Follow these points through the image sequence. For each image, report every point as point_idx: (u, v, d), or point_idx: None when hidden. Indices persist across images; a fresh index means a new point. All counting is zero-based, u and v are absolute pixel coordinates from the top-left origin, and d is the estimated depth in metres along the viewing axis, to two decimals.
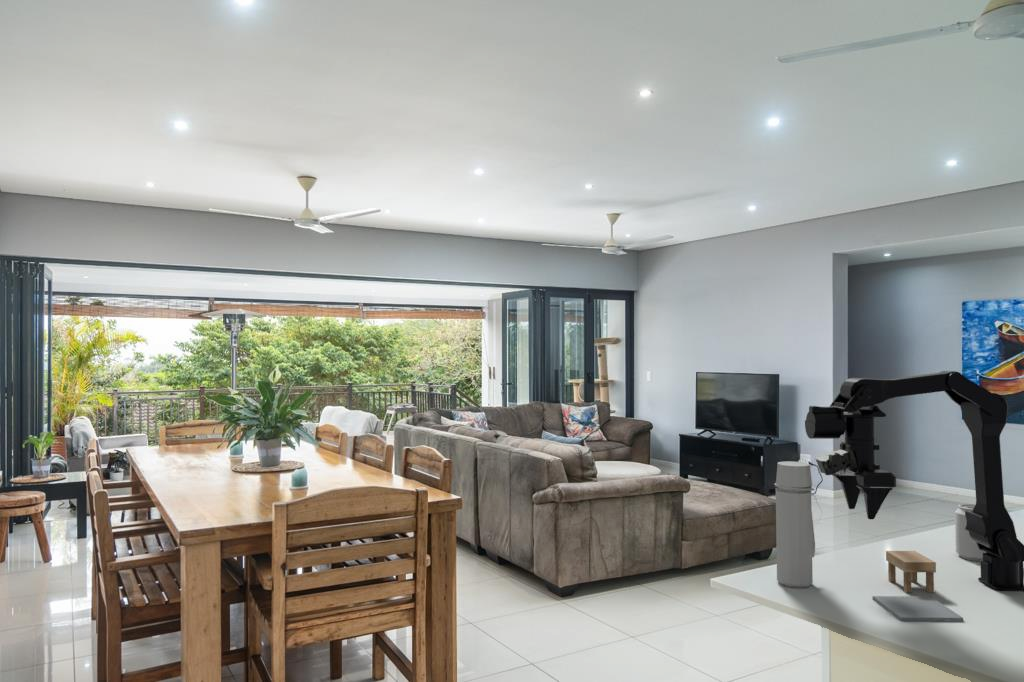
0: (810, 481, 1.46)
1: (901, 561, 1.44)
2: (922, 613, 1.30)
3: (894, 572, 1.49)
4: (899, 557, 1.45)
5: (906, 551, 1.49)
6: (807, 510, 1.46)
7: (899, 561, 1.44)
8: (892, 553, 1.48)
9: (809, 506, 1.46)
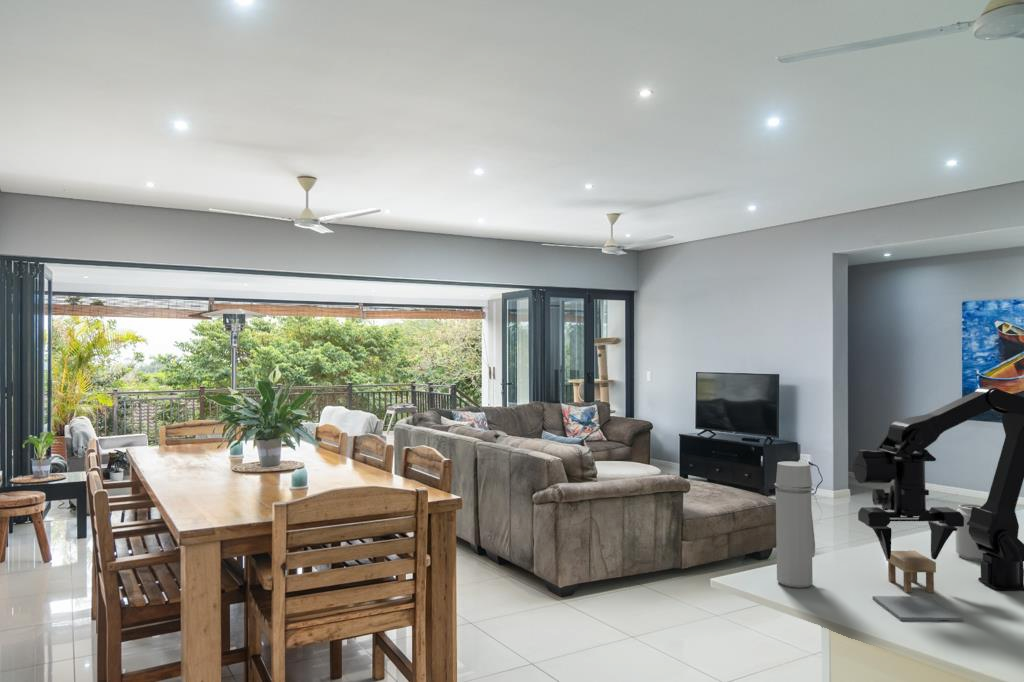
0: (810, 481, 1.46)
1: (901, 561, 1.44)
2: (922, 613, 1.30)
3: (894, 572, 1.49)
4: (899, 557, 1.45)
5: (906, 551, 1.49)
6: (807, 510, 1.46)
7: (899, 561, 1.44)
8: (892, 553, 1.48)
9: (809, 506, 1.46)
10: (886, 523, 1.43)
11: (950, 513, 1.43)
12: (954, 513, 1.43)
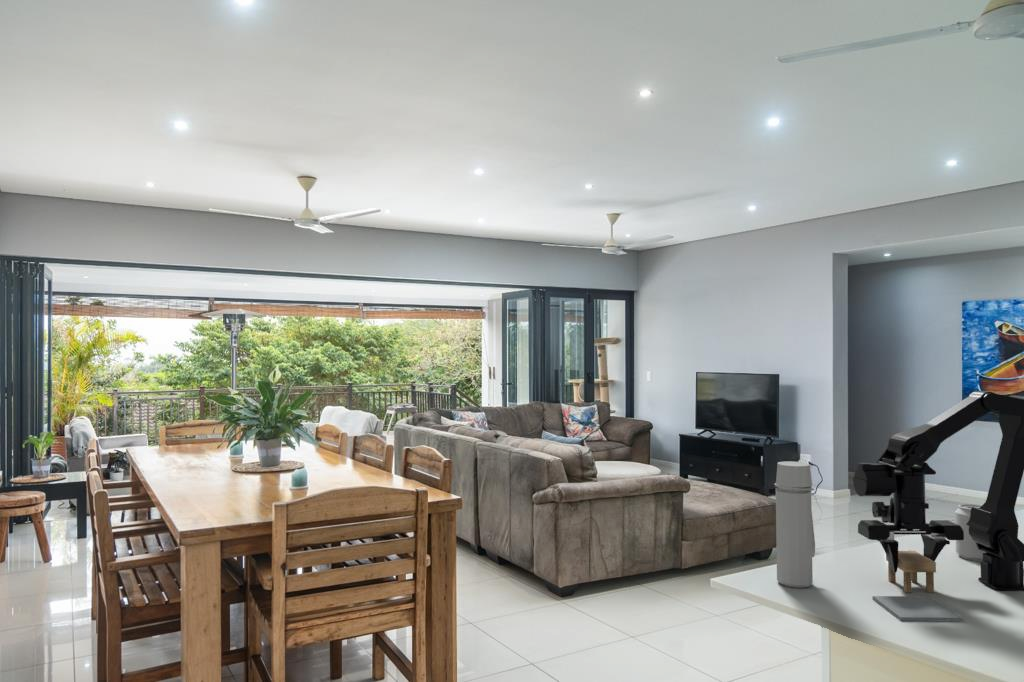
0: (810, 481, 1.46)
1: (901, 561, 1.44)
2: (922, 613, 1.30)
3: (894, 572, 1.49)
4: (899, 557, 1.45)
5: (906, 551, 1.49)
6: (807, 510, 1.46)
7: (899, 561, 1.44)
8: None
9: (809, 506, 1.46)
10: (886, 536, 1.43)
11: (950, 526, 1.43)
12: (954, 526, 1.43)
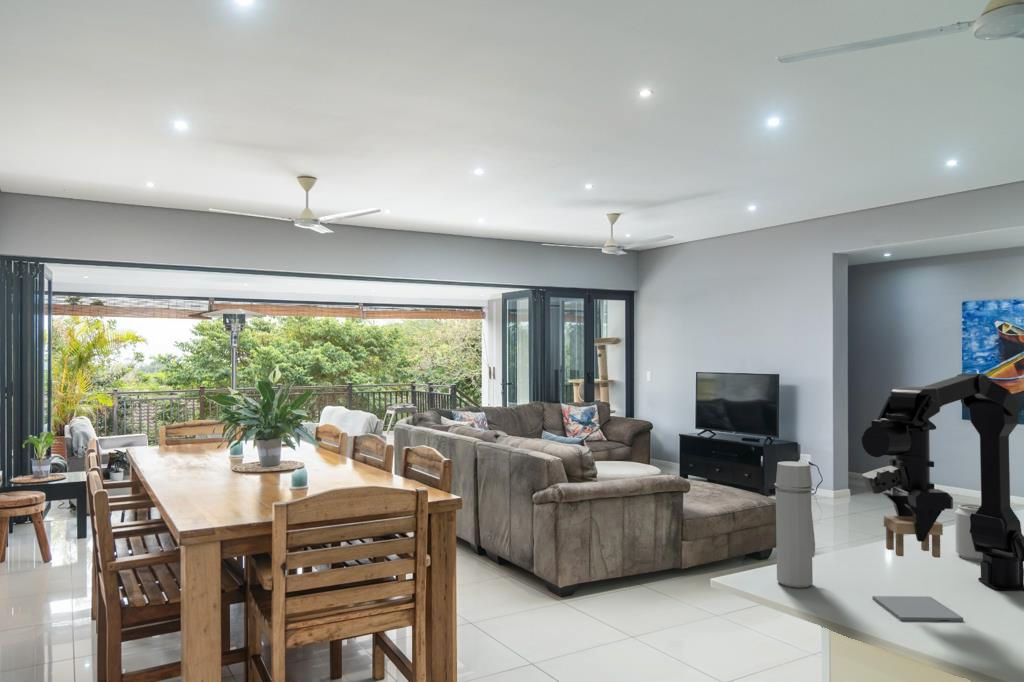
0: (810, 481, 1.46)
1: (934, 525, 1.31)
2: (922, 613, 1.30)
3: None
4: None
5: (890, 518, 1.36)
6: (807, 510, 1.46)
7: None
8: (906, 522, 1.32)
9: (809, 506, 1.46)
10: None
11: None
12: None
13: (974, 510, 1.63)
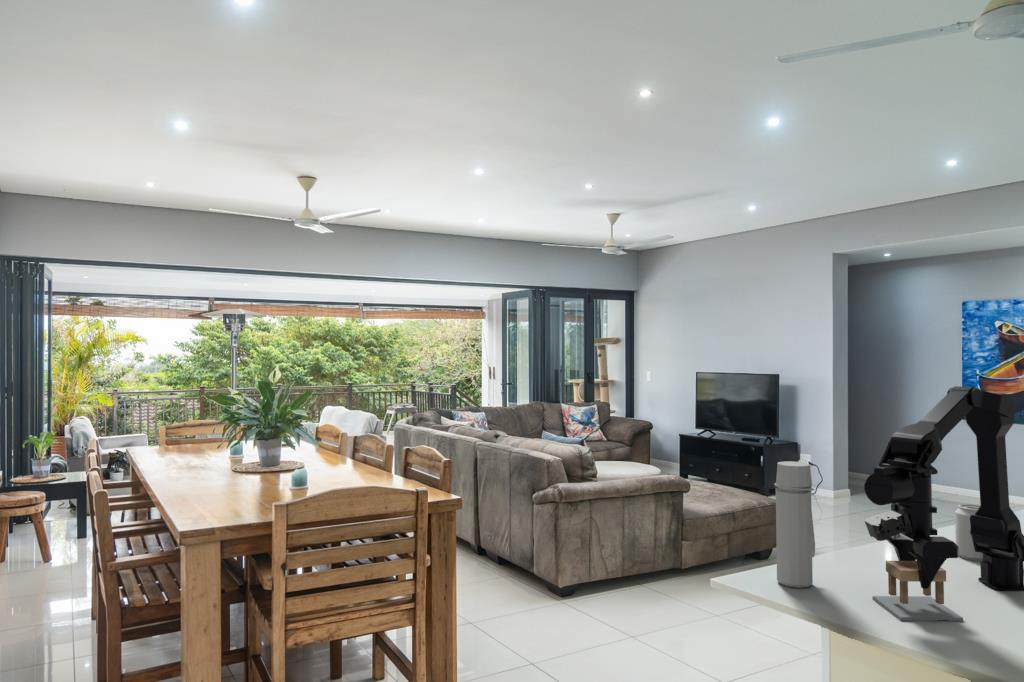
0: (810, 481, 1.46)
1: None
2: (922, 613, 1.30)
3: None
4: None
5: (893, 563, 1.34)
6: (807, 510, 1.46)
7: None
8: (910, 569, 1.31)
9: (809, 506, 1.46)
10: None
11: None
12: None
13: (974, 510, 1.63)
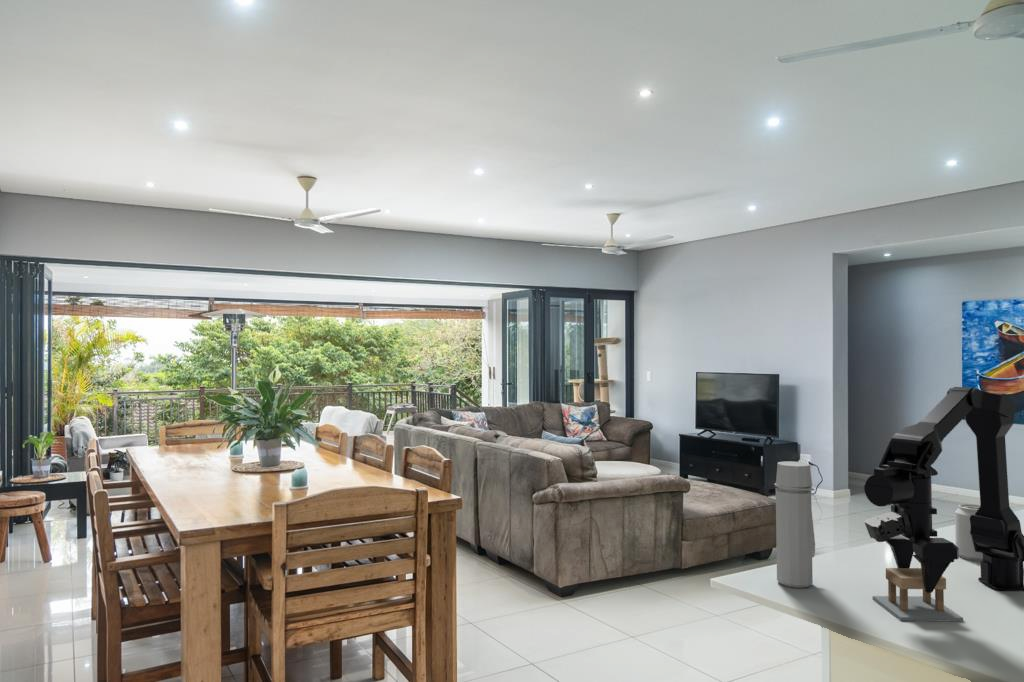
0: (810, 481, 1.46)
1: None
2: (922, 613, 1.30)
3: None
4: None
5: (893, 571, 1.34)
6: (807, 510, 1.46)
7: None
8: (910, 577, 1.31)
9: (809, 506, 1.46)
10: None
11: None
12: None
13: (974, 510, 1.63)
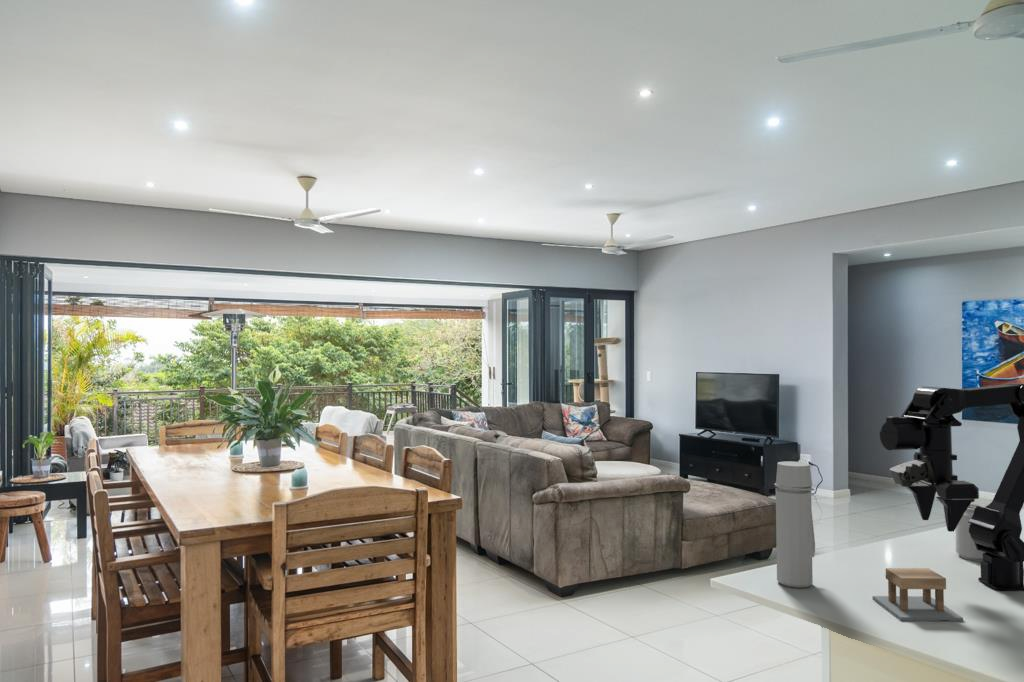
0: (810, 481, 1.46)
1: (937, 579, 1.30)
2: (922, 613, 1.30)
3: None
4: (926, 577, 1.31)
5: (893, 571, 1.34)
6: (807, 510, 1.46)
7: (933, 580, 1.30)
8: (910, 577, 1.31)
9: (809, 506, 1.46)
10: None
11: None
12: None
13: None
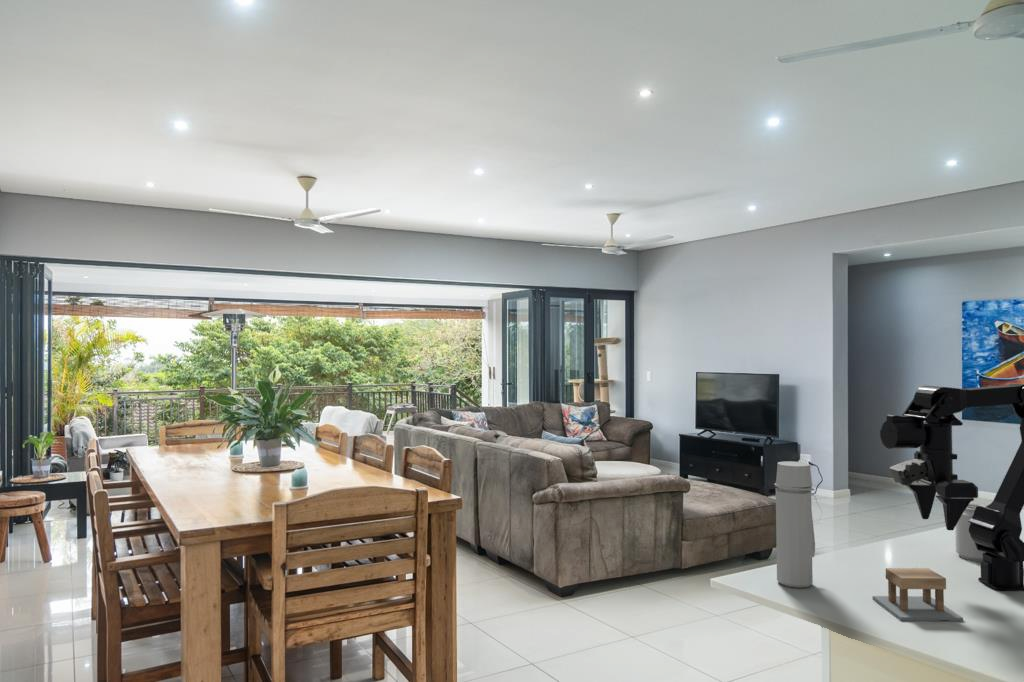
0: (810, 481, 1.46)
1: (937, 579, 1.30)
2: (922, 613, 1.30)
3: None
4: (926, 577, 1.31)
5: (893, 571, 1.34)
6: (807, 510, 1.46)
7: (933, 580, 1.30)
8: (910, 577, 1.31)
9: (809, 506, 1.46)
10: None
11: None
12: None
13: (974, 510, 1.63)
